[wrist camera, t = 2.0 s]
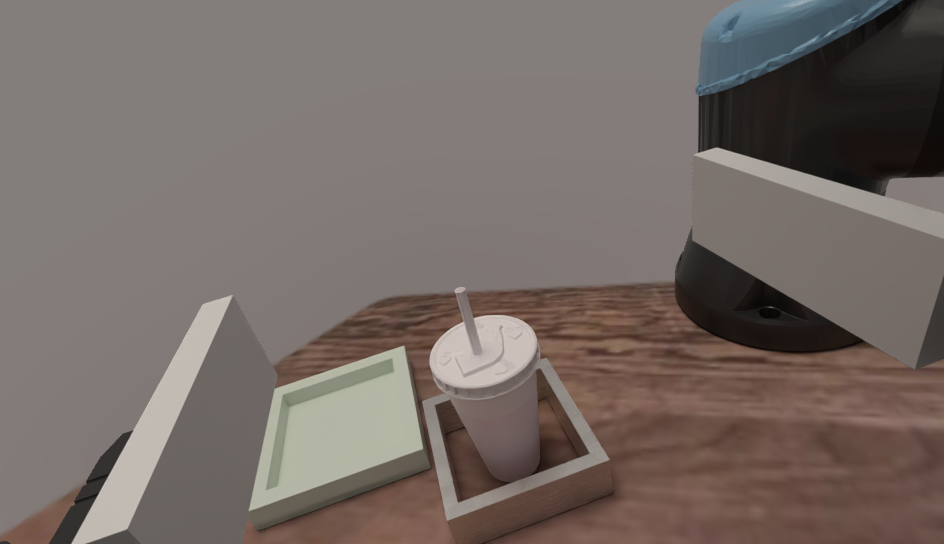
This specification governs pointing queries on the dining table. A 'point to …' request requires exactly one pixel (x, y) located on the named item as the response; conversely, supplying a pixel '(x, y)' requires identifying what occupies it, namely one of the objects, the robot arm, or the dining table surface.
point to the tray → (338, 438)
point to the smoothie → (493, 387)
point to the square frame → (527, 495)
